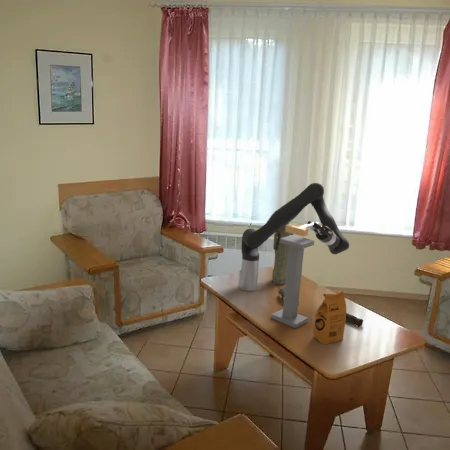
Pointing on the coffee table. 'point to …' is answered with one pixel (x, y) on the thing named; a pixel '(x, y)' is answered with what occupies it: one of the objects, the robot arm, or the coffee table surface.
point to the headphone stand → (293, 281)
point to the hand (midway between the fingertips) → (311, 223)
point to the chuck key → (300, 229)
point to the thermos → (280, 257)
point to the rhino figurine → (281, 292)
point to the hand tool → (354, 320)
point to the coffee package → (330, 318)
